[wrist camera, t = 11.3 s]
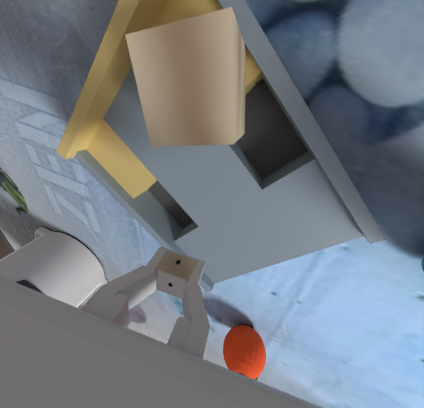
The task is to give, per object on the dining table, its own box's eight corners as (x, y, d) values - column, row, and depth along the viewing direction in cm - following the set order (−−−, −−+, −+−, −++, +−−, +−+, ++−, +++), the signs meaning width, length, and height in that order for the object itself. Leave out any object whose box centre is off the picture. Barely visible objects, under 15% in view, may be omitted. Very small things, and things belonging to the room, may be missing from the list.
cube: (185, 136, 14) (151, 146, 10) (175, 61, 12) (125, 34, 8) (244, 133, 13) (233, 144, 9) (246, 48, 11) (231, 7, 6)
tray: (361, 212, 16) (394, 248, 12) (214, 267, 26) (204, 298, 21) (208, -41, 11) (172, -131, 7) (99, 143, 21) (56, 151, 17)
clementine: (276, 341, 30) (279, 398, 24) (244, 342, 34) (239, 393, 28) (252, 313, 28) (247, 368, 22) (220, 318, 32) (209, 366, 26)
